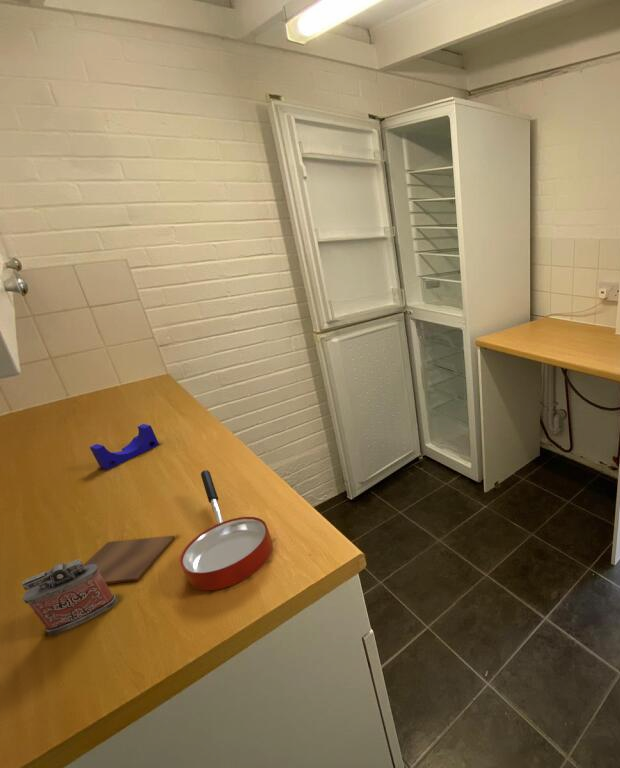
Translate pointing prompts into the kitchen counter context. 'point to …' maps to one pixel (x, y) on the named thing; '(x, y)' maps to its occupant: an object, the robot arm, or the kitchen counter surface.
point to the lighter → (68, 595)
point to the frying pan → (225, 548)
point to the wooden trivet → (128, 558)
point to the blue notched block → (126, 448)
